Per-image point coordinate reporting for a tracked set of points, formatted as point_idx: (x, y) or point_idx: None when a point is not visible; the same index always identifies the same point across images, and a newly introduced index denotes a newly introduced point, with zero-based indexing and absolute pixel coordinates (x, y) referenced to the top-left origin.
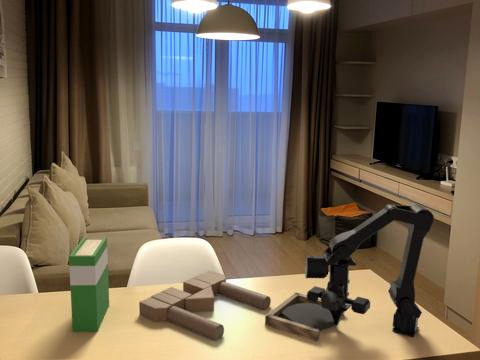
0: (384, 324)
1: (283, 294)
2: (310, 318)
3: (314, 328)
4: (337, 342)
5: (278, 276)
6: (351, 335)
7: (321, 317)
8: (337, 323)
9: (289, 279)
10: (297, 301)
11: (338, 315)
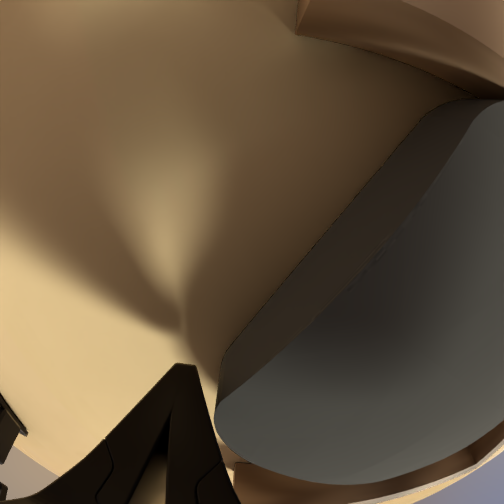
0: (44, 426)
1: None
2: (488, 322)
3: (419, 2)
4: (79, 88)
5: (471, 472)
6: (48, 289)
7: (369, 404)
8: (161, 381)
9: (448, 482)
10: None
11: (105, 470)
